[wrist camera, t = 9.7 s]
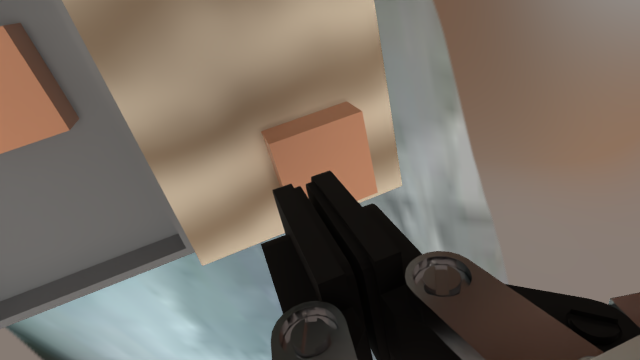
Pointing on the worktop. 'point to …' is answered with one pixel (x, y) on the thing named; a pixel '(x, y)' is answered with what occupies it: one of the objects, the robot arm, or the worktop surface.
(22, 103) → the tile
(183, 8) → the bench plate
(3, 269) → the box
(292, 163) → the tile
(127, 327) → the worktop surface
